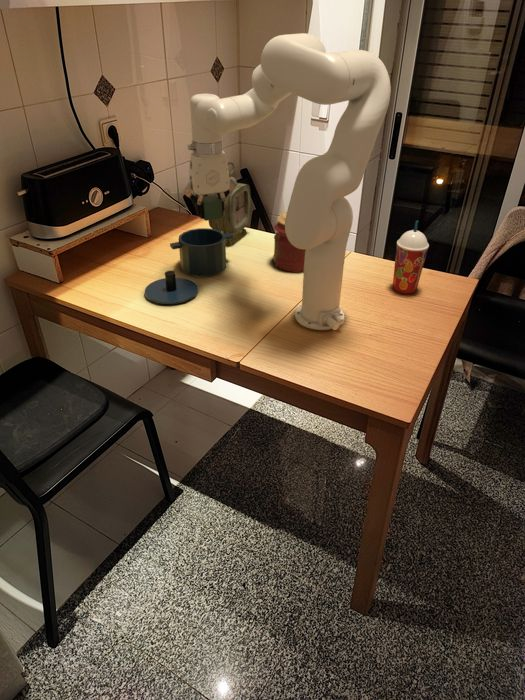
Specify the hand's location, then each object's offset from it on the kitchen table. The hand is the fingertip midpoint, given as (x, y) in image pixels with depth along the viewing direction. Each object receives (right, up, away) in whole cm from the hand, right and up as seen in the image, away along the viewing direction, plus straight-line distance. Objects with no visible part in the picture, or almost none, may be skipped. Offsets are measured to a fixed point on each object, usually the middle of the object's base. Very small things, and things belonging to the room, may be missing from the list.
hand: (210, 214), depth 144 cm
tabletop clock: (+3, 0, +32) cm, 32 cm away
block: (0, 0, 0) cm, 0 cm away
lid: (-11, -21, -1) cm, 24 cm away
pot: (-3, -12, +14) cm, 19 cm away
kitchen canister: (+24, -11, +16) cm, 31 cm away
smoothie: (+55, -20, +3) cm, 58 cm away
